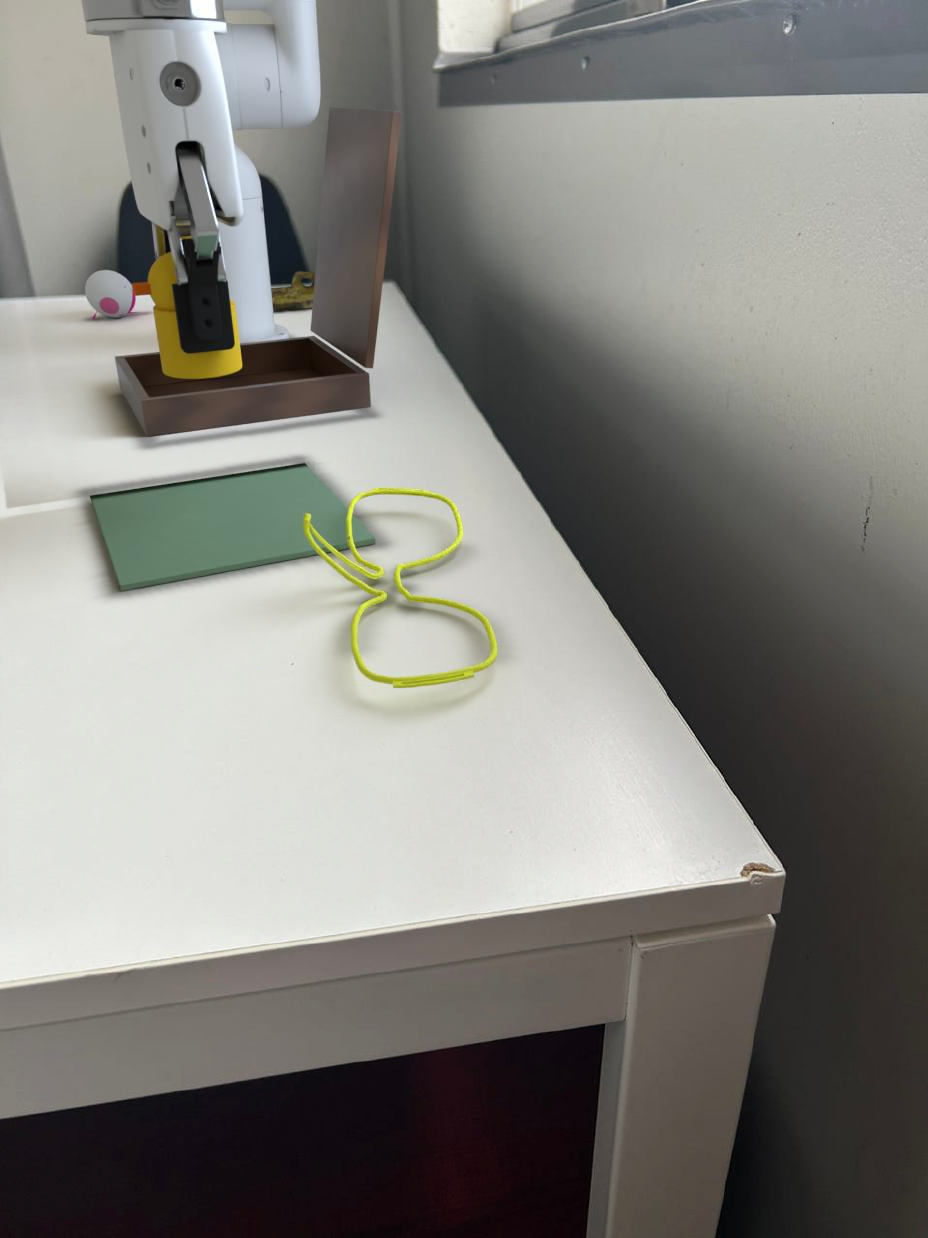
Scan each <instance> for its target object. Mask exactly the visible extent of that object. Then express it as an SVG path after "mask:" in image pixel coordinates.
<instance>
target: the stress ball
mask: <svg viewBox="0 0 928 1238" xmlns="http://www.w3.org/2000/svg"><path fill="white" fill-rule="evenodd" d="M84 293H85V298H86V300H87V302H88V304H89V305H90V306H91V308H93V310H95V311H96V312H95V313H94V314H93V316H92V320H95V319H96V316H97V313H99V314H100V315H102V316H103V317H108V318H112V319H114V318H115V319H119V318H123V317H125V316H127V315H129V314H130V315H131V314H139V313H140V311H133V309H134V307H135V305H136V300H137V299H136V297H137V296H136V295H135V294H134V293H133V290H132V283H131V282H130V281H129V280H128V279H127V277H125V276H124V275H122V274H121V273H119V272H117V271H114V270H111V269H102V270H98V271H95V272H93V273H92V274H91V275H89V276H88V278H87V280H86V282H85V285H84Z"/></svg>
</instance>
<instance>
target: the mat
mask: <svg viewBox="0 0 928 1238" xmlns="http://www.w3.org/2000/svg"><path fill="white" fill-rule="evenodd" d="M89 498H90V499H89V500H90V501H91V504H92V507H93V510H94V514H95V516H96V520H97V522H98V526H99V529H100V532H101V535H102V537H103V540H104V544H105V547H106V551H107V553H108V556H109V559H110V563H111V566H112V569H113V571H114V574H115V577H116V580H117V583H118V586H119V589H120V591H121V592H124V591H130V590H135V589H140V588H145V587H150V586H157V585H161V584H167V583H172V582H178V581H181V580H182V581H183V580H188V579H193V578H198V577H204V576H209V575H215V574H220V573H226V572H230V571H236V570H241V569H247V568H252V567H257V566H261V565H262V566H263V565H268V564H273V563H278V562H284V561H288V560H289V561H290V560H293V559H295V560H296V559H301V558H305V557H311V556H315V555H319V554H318V553H317V552H316V550H315V549H314V548H313V547H312V545H311V544H310V542H309V541H308V539H307V538H306V536H305V534H304V528H303V521H304V517H303V515H304V514H305V513H308V514H310V515H311V520H310V523H311V525H312V526H313V528H314V529H315V530H316V531H317V533H318V534H319V535H320V536H321V537H322V538H323V539H324V540H325V541H326V542H327V543H328V544H330V545H331V546H332V547H333V548H335V549H336V550H337V551H338V552H339V551H343V550H348V549H349V550H350V548H349V545H348V540H347V532H346V517H347V512H348V508H349V507H347V506H346V505H345V504H344V502H342V501H341V500H340V498H339V497H338V496H337V495H336V494H335V493H334V492H333V491H332V490H331V489H330V487H328V486H327V484H325V483H324V482H323V480H322V479H321V478H320V477H319V476H318V475H317V474H316V473H315V472H314V470H312V469H311V468H310V467H309V466H308V464H307V463H306V462H301V463H295V464H288V465H281V466H275V467H267V468H263V469H255V470H248V471H243V472H236V473H229V474H222V475H216V476H209V477H203V478H197V479H190V480H184V481H183V480H182V481H178V482H177V481H176V482H170V483H164V484H163V483H162V484H156V485H150V486H144V487H138V488H137V487H136V488H130V489H123V490H117V491H110V492H105V493H97V494H91V495H89ZM351 524H352V537H353V542H354V545H355V547H356V548H358V547H364V546H370V545H374V544H376V543H377V542H376V537H375V536H374V535H373V534H372V533H371V531H369V530H368V529H367V527H365V525H364V524H363V523H362V522H361V521H360V520H359V519H358V518H357V517H356V515H354V513H352V519H351ZM309 531H310V533H311V535H312V537H313V540H314V541H315V542H316V544H317V545H318V546H319V547H320V548H321V549H322V550H323V551H324V552H325V553H326V554H327V553H332V552H331V551H329V550H328V549H327V548H326V547H325V546H324V545H323V544H322V543H321V542H320V541H319V540H318V539H317V538H316V537H315V535H314V534H313V533H312V532H311V530H310V529H309Z"/></svg>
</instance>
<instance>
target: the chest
mask: <svg viewBox="0 0 928 1238" xmlns="http://www.w3.org/2000/svg"><path fill="white" fill-rule="evenodd" d="M240 350H241V358H242V368H241V369H240V370H239V371H237V372H235V373H232V374H229V375H225V376H220V377H213V378H203V379H183V378H175V377H170V376H167V375H165V374H164V373H163V371H162V364H161V358H160V351H155V352H145V353H136V354H135V353H134V354H125V355H116V356H114V361H115V367H116V372H117V378H118V384H119V389H120V391H121V392H122V394H123V396H124V398H125V399H126V401H127V404H128V405H129V406H130V409H131V411H132V412H133V415H134V416H135V418H136V419H137V421H138V423H139V425H140V427H141V429H142V430H143V432H144V434H145V436H146V437H147V438H153V437H161V436H167V435H175V434H184V433H190V432H191V433H192V432H198V431H205V430H206V431H207V430H212V429H219V428H220V429H221V428H228V427H235V426H243V425H250V424H257V423H265V422H271V421H272V422H273V421H280V420H287V419H295V418H302V417H303V418H304V417H310V416H316V415H317V416H319V415H324V414H325V415H326V414H332V413H340V412H347V411H354V410H362V409H369V408H371V407H372V401H371V400H372V399H371V382H370V380H371V379H370V373H369V372H367V371H366V370H365V369H363V368H361V367H360V366H359V365H357V364H356V363H354V362H353V361H352V360H350V358H347V357H346V356H344V354H341V352H338V351H337V350H336V349H334V348H332V347H331V346H330V345H328V344H327V343H325V342H324V341H322V339H319V337H317V336H315V335H308V336H298V337H289V338H288V339H278V340H268V341H259V342H249V343H240Z"/></svg>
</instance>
